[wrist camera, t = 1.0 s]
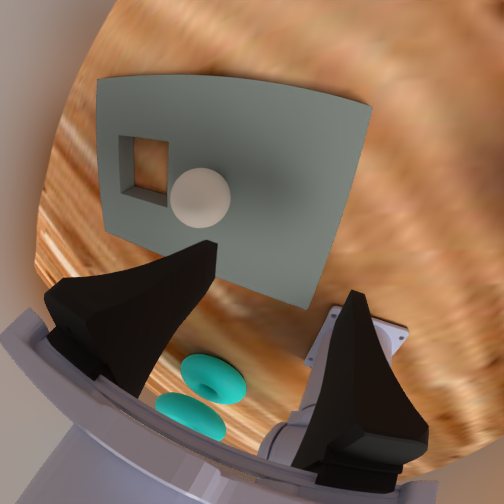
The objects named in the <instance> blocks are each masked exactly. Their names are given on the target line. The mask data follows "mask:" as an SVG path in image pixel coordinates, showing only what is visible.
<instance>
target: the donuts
mask: <svg viewBox="0 0 504 504" xmlns="http://www.w3.org/2000/svg"><path fill="white" fill-rule="evenodd" d="M181 375H182V378H183V380H184V381H185V383H186V384H187V385H188V387H189V388H190V389H191V390H193V391H194V392H195V393H196V394H198V395H199V396H201V397H203V398H205V399H207V400H209V401H211V402H214V403H219V404H234V403H237V402H239V401H240V400H242V399H243V398H244V396H245V394H246V390H247V387H246V383H245V381H244V379H243V377H242V376H241V375H240V373H239V372H238V371H237V370H235V369H234V368H233V367H232V366H230V365H229V364H227V363H226V362H224V361H222V360H220V359H218V358H215V357H212V356H209V355H205V354H193V355H190V356H188V357H186V358H185V359H184V360H183V362H182V364H181ZM155 407H156V410H157V411H159V412H160V413H162V414H164V415H166V416H168V417H169V418H171V419H173V420H175V421H177V422H179V423H181V424H183V425H185V426H187V427H189V428H191V429H193V430H195V431H197V432H199V433H201V434H203V435H206V436H208V437H210V438H212V439H215V440H217V441H220V440H222V439H223V438H224V437H225V435H226V426H225V423H224V421H223V420H222V418H221V417H220V416H219V415H218V414H217V413H216V412H215V411H214V410H213V409H211V408H210V407H209V406H207V405H205V404H204V403H202V402H200V401H198V400H197V399H194V398H192V397H190V396H187V395H184V394H180V393H174V392H169V393H164V394H162V395H160V396H159V397H158V398H157V400H156V402H155Z"/></svg>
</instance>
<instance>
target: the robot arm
mask: <svg viewBox="0 0 504 504" xmlns="http://www.w3.org/2000/svg"><path fill="white" fill-rule="evenodd" d="M217 249H218V243H215V242H212V241H209V240H207V239H206V240H203V241H201V242H198V243H196V244H194V245H192V246H189V247H187V248H185V249H183V250H180V251H178V252H176V253H173V254H171V255H169V256H166V257H164V258H161V259H158V260H156V261H153V262H151V263H148V264H145V265H142V266H138V267H135V268H131V269H128V270H123V271H119V272H114V273H109V274H103V275H97V276H88V277H70V278H62V279H61V280H60V281H59V282H58V283H56V284H55V285H54V286H53V287H52V288H51V289H49V290H48V291H47V292H46V293H45V294H44V301H45V304H46V307H47V309H48V311H49V313H50V315H51V317H52V319H53V321H54V323H55V324H56V327H55V328H54V329H53V330H52V331H51V332H49V331H48V328H47V326H46V325H45V323H44V321H43V320H42V319H41V318H40V317H39V316H38V315H37V314H36V313H35V312H34V311H33V310H32V309H31V308H28V309H27V310H25V311H24V312H23V313H22V314H21V315H20V316H19V317H18V318H17V319H16V320H15V321H14V322H13V323H11V324H10V325H9V326H8V327H7V328H6V329H5V330H4V331H3V332H2V333H1V334H0V343H1V344H2V346H3V347H4V348H5V350H6V351H7V352H8V354H9V355H10V356H11V357H12V359H13V360H14V361H15V363H16V364H17V365H18V366H19V367H20V369H21V370H22V371H23V372H24V373H25V375H26V376H27V377H28V378H29V379H30V380H31V381H32V382H33V384H34V385H35V386H36V387H37V388H38V389H39V390H40V391H41V392H42V393H43V394H44V395H45V396H46V397H47V398H48V399H49V400H50V401H51V402H52V403H53V404H54V405H55V406H56V407H57V408H58V409H59V410H60V411H61V412H62V413H63V414H64V415H66V416H67V417H68V418H69V419H70V420H71V421H72V422H74V425H73V426H72V428H71V429H70V430H69V431H68V432H67V434H66V435H65V436H64V438H63V439H62V440H61V442H60V443H59V445H58V446H57V447H56V448H55V450H54V451H53V452H52V453H51V455H50V456H49V458H48V459H47V460H46V462H45V463H44V464H43V466H42V467H41V468H40V470H39V471H38V472H37V474H36V475H35V477H34V478H33V479H32V481H31V482H30V484H29V485H28V486H27V488H26V489H25V491H24V492H23V494H22V495H21V496H20V498H19V499H18V500H17V502H16V503H15V504H435V502H436V497H437V490H438V483H439V482H438V481H421V480H420V481H411V482H407V483H405V484H403V485H396V481H397V476H398V474H401V473H402V470H403V465H404V464H406V463H408V462H410V461H412V460H415V459H417V458H419V457H420V456H422V455H423V454H424V453H425V452H426V451H427V448H428V437H429V425H428V424H427V423H426V422H425V420H424V419H423V418H422V417H421V415H420V414H419V413H418V411H417V410H416V409H415V408H414V406H413V405H412V403H411V402H410V400H409V399H408V397H407V396H406V394H405V393H404V391H403V389H402V388H401V386H400V384H399V382H398V381H397V379H396V377H395V375H394V373H393V371H392V369H391V362H392V356H393V354H394V353H395V352H396V351H397V350H398V348H399V347H400V346H401V345H402V343H403V342H404V341H405V340H406V338H407V337H408V336H409V330H408V329H407V328H403V327H400V326H397V325H394V324H391V323H388V322H385V321H382V320H379V319H376V318H373V317H371V314H370V311H369V307H368V304H367V300H366V297H365V294H363V293H360V292H357V291H354V290H351V291H350V293H349V295H348V297H347V299H346V302H345V304H344V305H343V307H340V306H333V307H332V308H331V309H330V311H329V313H328V316H327V318H326V320H325V322H324V324H323V326H322V328H321V330H320V332H319V334H318V336H317V338H316V339H315V341H314V343H313V345H312V347H311V349H310V351H309V353H308V355H307V357H306V358H305V360H304V365H305V366H308V367H311V371H310V375H309V378H308V381H307V385H306V388H305V391H304V394H303V397H302V400H301V403H300V406H299V411H291V414H290V417H289V420H288V422H280V423H278V424H277V425H275V426H274V427H273V428H272V429H271V431H269V432H268V434H267V435H266V436H265V438H264V439H263V441H262V443H261V445H260V448H259V451H258V454H257V456H255V455H252V454H250V453H247V452H244V451H241V450H239V449H236V448H234V447H231V446H229V445H226V444H224V443H221V442H219V441H217V440H215V439H212V438H210V437H208V436H206V435H203V434H201V433H199V432H197V431H195V430H193V429H191V428H189V427H187V426H185V425H183V424H181V423H179V422H177V421H175V420H173V419H171V418H169V417H168V416H166V415H164V414H162V413H160V412H159V411H157V410H155V409H153V408H152V407H150V406H148V405H146V404H145V403H143V402H141V401H140V400H138V397H139V395H140V393H141V391H142V389H143V387H144V385H145V383H146V381H147V379H148V377H149V375H150V373H151V371H152V370H153V368H154V366H155V364H156V362H157V361H158V359H159V357H160V355H161V354H162V352H163V350H164V349H165V347H166V345H167V344H168V342H169V341H170V339H171V337H172V336H173V334H174V333H175V332H176V330H177V329H178V327H179V326H180V325H181V324H182V322H183V321H184V320H185V319H186V318H187V316H188V315H189V314H190V313H191V311H192V310H193V309H194V308H195V307H196V305H197V304H198V303H199V302H200V300H201V299H202V298H203V297H204V295H205V294H206V292H207V291H208V289H209V287H210V286H211V284H212V282H213V281H214V279H215V273H216V261H217ZM332 314H335V315H332ZM401 336H403V337H401ZM118 408H119V409H118ZM120 410H122V411H123V412H125V413H126V414H128V415H129V416H131V417H132V418H134V419H135V420H137V421H139V422H140V423H142V424H144V425H145V426H147V427H149V428H150V429H152V430H154V431H155V432H157V433H159V434H161V435H162V436H164V437H166V438H168V439H170V440H172V441H174V442H175V443H177V444H179V445H181V446H183V447H185V448H188V449H190V450H191V451H194V452H196V453H198V454H200V455H202V456H205V457H207V458H209V459H211V460H214V461H216V462H218V463H221V464H223V465H225V466H228V467H231V468H233V469H236V470H238V471H241V472H244V473H247V474H250V475H253V476H256V477H258V479H256V481H255V482H253V481H251V480H248V479H246V478H243V477H241V476H239V475H236V474H234V473H232V472H229V471H227V470H225V469H223V468H221V467H218V466H216V465H215V464H213V463H212V462H210V461H208V460H207V459H205V458H203V457H201V456H199V455H197V454H195V453H193V452H191V451H189V450H187V449H185V448H183V447H181V446H179V445H177V444H175V443H174V442H172V441H170V440H168V439H166V438H164V437H162V436H161V435H159V434H157V433H155V432H154V431H152V430H150V429H149V428H147V427H145V426H143V425H142V424H140V423H139V422H137V421H135V420H134V419H132V418H131V417H129V416H128V415H126V414H124V413H123V412H122V411H120Z"/></svg>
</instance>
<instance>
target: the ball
mask: <svg viewBox="0 0 504 504" xmlns="http://www.w3.org/2000/svg"><path fill="white" fill-rule="evenodd" d="M230 201H231V195H230V189H229V186H228V184H227V182H226V181H225V179H224V178H223V177H222V176H221V175H220V174H219V173H217V172H215V171H213V170H211V169H207V168H194V169H191V170H188V171H186V172H185V173H183V174H182V175H181V176H180V177H179V178H178V179H177V180H176V181H175V183H174V185H173V187H172V190H171V195H170V203H171V207H172V210H173V212H174V214H175V216H176V217H177V218H178V219H179V220H180V221H181V222H182V223H184V224H185V225H187V226H190V227H193V228H206V227H210V226H212V225H214V224H216V223H218V222H219V221H220V220H221V219H222V218H223V217H224V216H225V214H226V213H227V211H228V209H229V206H230Z"/></svg>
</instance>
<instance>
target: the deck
mask: <svg viewBox="0 0 504 504" xmlns="http://www.w3.org/2000/svg"><path fill="white" fill-rule="evenodd" d="M372 108H373V107H372V106H368V105H365V104H362V103H359V102H356V101H352V100H349V99H345V98H342V97H338V96H334V95H330V94H326V93H322V92H318V91H314V90H309V89H304V88H300V87H295V86H289V85H284V84H278V83H272V82H265V81H258V80H251V79H242V78H233V77H221V76H206V75H139V76H125V77H114V78H104V79H97V95H96V141H97V162H98V175H99V186H100V196H101V204H102V212H103V219H104V226H105V231H106V232H108V233H110V234H113V235H115V236H117V237H120V238H122V239H124V240H127V241H129V242H131V243H134V244H136V245H138V246H141V247H143V248H145V249H148V250H150V251H153V252H155V253H158V254H160V255H162V256H165V257H166V256H169V255H171V254H173V253H176V252H178V251H180V250H183V249H185V248H187V247H189V246H192V245H194V244H196V243H198V242H201V241H203V240H206V239H207V240H209V241H212V242H215V243H218V249H217V261H216V273H215V277H218V278H220V279H223V280H226V281H228V282H231V283H234V284H236V285H239V286H242V287H244V288H247V289H250V290H252V291H255V292H258V293H260V294H263V295H266V296H269V297H271V298H274V299H277V300H280V301H282V302H285V303H288V304H291V305H294V306H297V307H299V308H302V309H305V310H308V307H309V305H310V302H311V300H312V297H313V295H314V292H315V290H316V287H317V285H318V282H319V279H320V277H321V274H322V271H323V269H324V266H325V263H326V261H327V258H328V255H329V252H330V250H331V247H332V244H333V241H334V238H335V235H336V232H337V229H338V226H339V224H340V221H341V217H342V214H343V211H344V208H345V205H346V202H347V199H348V196H349V192H350V189H351V186H352V183H353V179H354V176H355V172H356V169H357V166H358V162H359V158H360V155H361V151H362V148H363V144H364V140H365V136H366V132H367V128H368V124H369V120H370V116H371V112H372ZM134 137H139V138H146V139H153V140H160V141H166V142H169V147H168V183H167V195H165V194H161V193H158V192H154V191H150V190H147V189H143V188H140V187H136V186H135V183H134ZM194 168H207V169H211V170H213V171H215V172H217V173H219V174H220V175H221V176H222V177H223V178H224V179H225V181H226V182H227V184H228V186H229V189H230V195H231V201H230V206H229V209H228V211H227V213H226V214H225V216H224V217H223V218H222V219H221V220H220V221H219V222H218V223H216V224H214V225H212V226H210V227H206V228H193V227H190V226H187V225H185V224H184V223H182V222H181V221H180V220H179V219H178V218H177V217H176V216H175V214H174V212H173V210H172V207H171V203H170V195H171V190H172V187H173V185H174V183H175V181H176V180H177V179H178V178H179V177H180V176H181V175H182V174H183V173H185V172H186V171H188V170H191V169H194Z"/></svg>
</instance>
